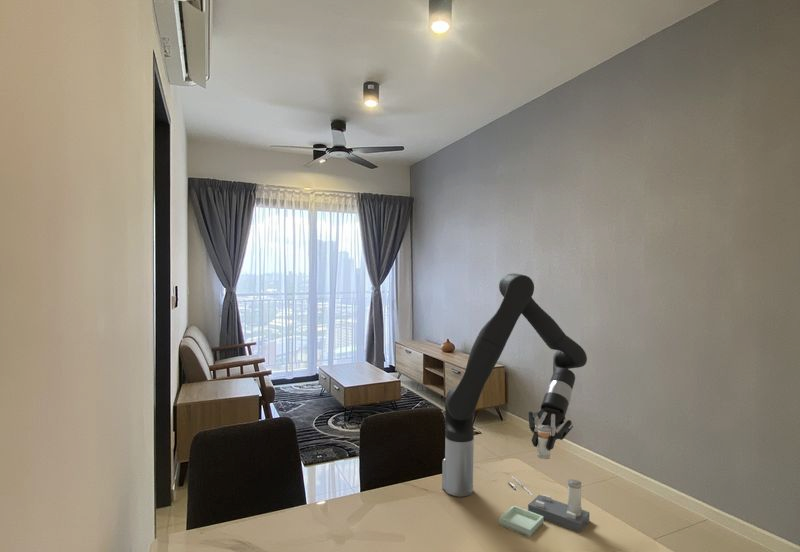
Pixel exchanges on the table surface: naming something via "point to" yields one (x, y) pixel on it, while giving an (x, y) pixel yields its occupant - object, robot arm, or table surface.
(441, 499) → the table surface
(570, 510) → the plain fuse
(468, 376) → the robot arm
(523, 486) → the picture light
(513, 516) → the tray
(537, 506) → the fuse holder
